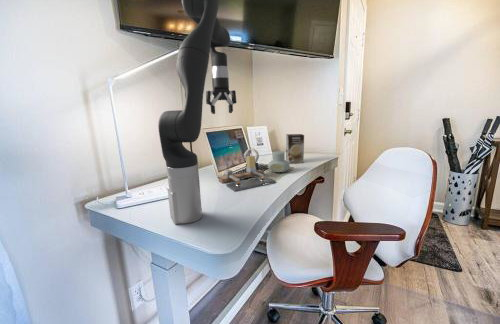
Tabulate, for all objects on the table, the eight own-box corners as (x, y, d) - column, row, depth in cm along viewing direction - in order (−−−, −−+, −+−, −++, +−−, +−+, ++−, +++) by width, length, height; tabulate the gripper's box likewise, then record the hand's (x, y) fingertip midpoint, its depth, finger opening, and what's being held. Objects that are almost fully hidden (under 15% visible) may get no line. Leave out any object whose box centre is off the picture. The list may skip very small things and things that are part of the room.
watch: (248, 167, 142) (247, 147, 139) (261, 168, 137) (260, 148, 135) (242, 169, 137) (241, 149, 134) (255, 171, 133) (255, 150, 130)
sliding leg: (260, 179, 113) (259, 160, 111) (246, 173, 124) (245, 155, 122) (266, 178, 115) (265, 159, 113) (251, 172, 126) (251, 155, 124)
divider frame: (230, 189, 107) (230, 177, 106) (218, 181, 118) (218, 170, 117) (274, 180, 117) (274, 169, 116) (259, 173, 128) (259, 163, 127)
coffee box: (288, 163, 146) (288, 135, 142) (285, 161, 152) (285, 134, 149) (303, 163, 146) (304, 135, 143) (301, 160, 153) (301, 133, 149)
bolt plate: (234, 191, 104) (234, 188, 103) (226, 186, 111) (226, 183, 110) (275, 182, 113) (275, 180, 113) (265, 178, 120) (265, 176, 120)
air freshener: (290, 169, 133) (290, 150, 131) (288, 174, 126) (288, 154, 123) (270, 169, 137) (269, 150, 134) (266, 173, 129) (266, 153, 127)
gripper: (208, 76, 111) (210, 114, 115) (237, 76, 118) (239, 112, 121) (202, 78, 117) (205, 114, 121) (230, 78, 124) (232, 112, 128)
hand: (222, 113), depth 121 cm, fingers open, 8 cm apart
